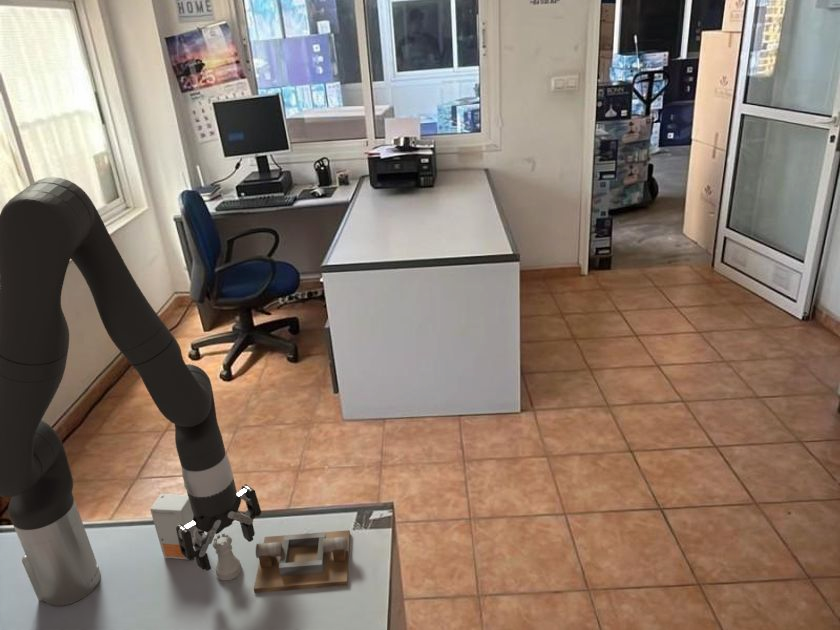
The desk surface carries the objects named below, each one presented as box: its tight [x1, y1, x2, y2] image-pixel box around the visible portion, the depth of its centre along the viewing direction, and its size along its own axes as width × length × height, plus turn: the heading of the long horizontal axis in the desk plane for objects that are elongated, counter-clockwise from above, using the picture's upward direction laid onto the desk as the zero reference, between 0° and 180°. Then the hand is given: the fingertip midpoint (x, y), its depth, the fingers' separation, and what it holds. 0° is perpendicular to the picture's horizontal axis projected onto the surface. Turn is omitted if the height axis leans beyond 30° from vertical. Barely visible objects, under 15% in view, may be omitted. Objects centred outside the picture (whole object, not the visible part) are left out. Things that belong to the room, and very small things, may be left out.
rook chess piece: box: [212, 532, 242, 581], centre depth 113 cm, size 4×4×8 cm
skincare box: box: [149, 493, 201, 561], centre depth 118 cm, size 6×4×12 cm
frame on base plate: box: [253, 529, 351, 594], centre depth 115 cm, size 16×12×5 cm
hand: (228, 553), depth 113 cm, fingers open, 8 cm apart
